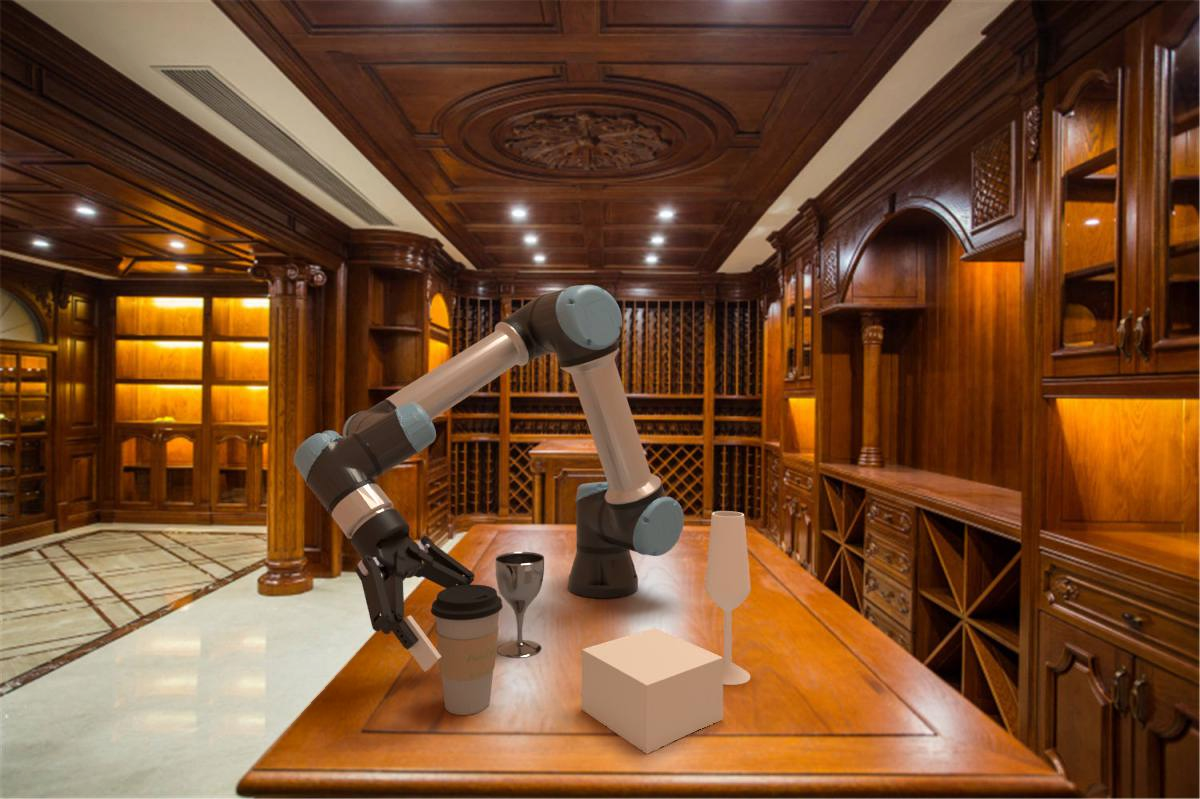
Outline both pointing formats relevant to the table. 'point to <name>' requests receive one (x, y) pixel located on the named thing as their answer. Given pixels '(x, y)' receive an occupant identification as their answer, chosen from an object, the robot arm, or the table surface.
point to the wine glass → (519, 594)
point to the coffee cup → (467, 645)
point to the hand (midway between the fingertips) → (463, 644)
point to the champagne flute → (728, 579)
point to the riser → (652, 687)
